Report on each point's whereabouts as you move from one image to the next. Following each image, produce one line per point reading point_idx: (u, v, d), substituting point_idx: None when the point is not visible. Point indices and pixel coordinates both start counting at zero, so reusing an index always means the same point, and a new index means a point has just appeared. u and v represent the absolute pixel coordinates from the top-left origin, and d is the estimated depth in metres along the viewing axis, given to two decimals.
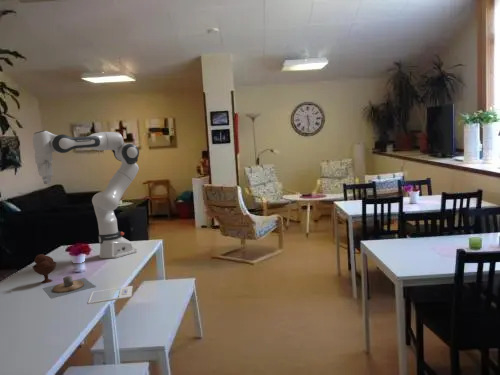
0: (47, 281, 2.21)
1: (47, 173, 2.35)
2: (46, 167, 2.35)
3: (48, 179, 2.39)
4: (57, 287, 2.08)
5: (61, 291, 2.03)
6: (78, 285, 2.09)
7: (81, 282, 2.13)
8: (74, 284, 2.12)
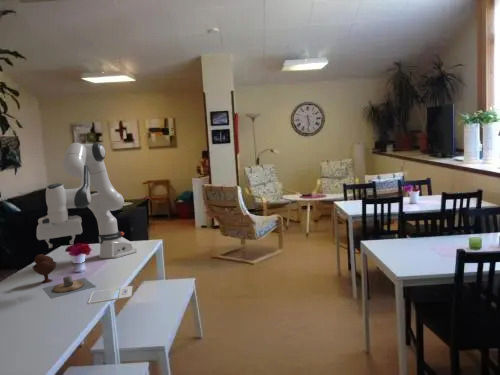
0: (47, 281, 2.21)
1: None
2: (80, 223, 2.13)
3: None
4: (57, 287, 2.08)
5: (61, 291, 2.03)
6: (78, 285, 2.09)
7: (81, 282, 2.13)
8: (74, 283, 2.12)
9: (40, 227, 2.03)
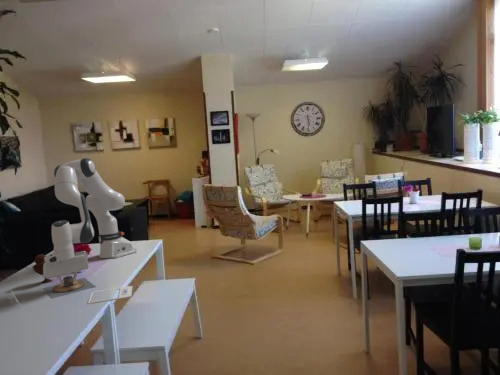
0: (47, 281, 2.21)
1: None
2: (86, 258, 2.13)
3: None
4: (57, 287, 2.08)
5: (61, 291, 2.03)
6: (78, 285, 2.09)
7: (81, 282, 2.13)
8: (74, 283, 2.12)
9: (47, 266, 2.02)
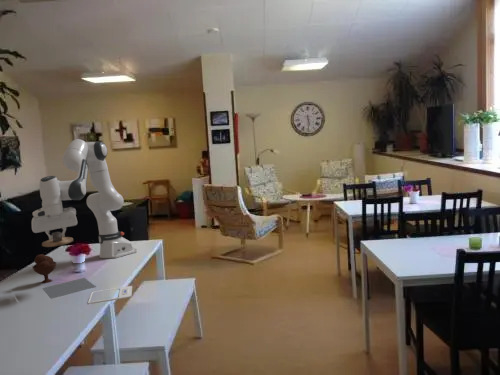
0: (47, 281, 2.21)
1: (76, 221, 2.15)
2: (75, 214, 2.15)
3: None
4: (46, 242, 2.09)
5: (50, 245, 2.05)
6: (67, 240, 2.10)
7: (70, 238, 2.14)
8: (62, 239, 2.13)
9: (36, 220, 2.03)
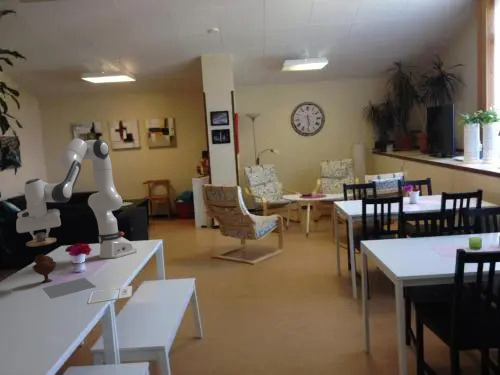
0: (47, 281, 2.21)
1: (60, 222, 2.24)
2: (58, 216, 2.24)
3: None
4: (30, 242, 2.18)
5: (33, 245, 2.14)
6: (50, 240, 2.19)
7: (54, 238, 2.23)
8: (46, 239, 2.22)
9: (20, 220, 2.12)
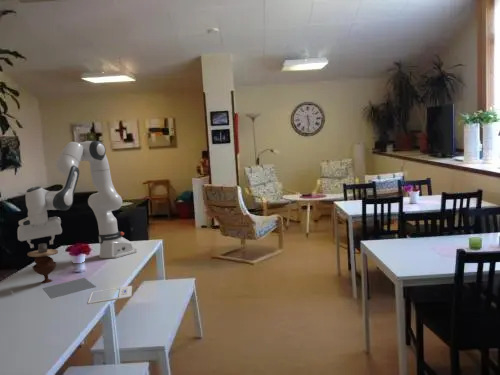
0: (47, 281, 2.21)
1: (61, 229, 2.25)
2: (59, 223, 2.24)
3: None
4: (31, 253, 2.19)
5: (35, 255, 2.14)
6: (52, 252, 2.20)
7: (55, 250, 2.24)
8: (48, 251, 2.23)
9: (21, 229, 2.13)
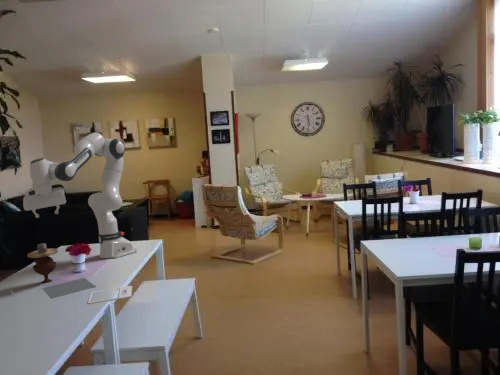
0: (47, 281, 2.21)
1: (65, 199, 2.33)
2: (63, 194, 2.32)
3: None
4: (31, 254, 2.18)
5: (35, 256, 2.14)
6: (51, 251, 2.20)
7: (55, 249, 2.24)
8: (47, 250, 2.23)
9: (27, 199, 2.21)
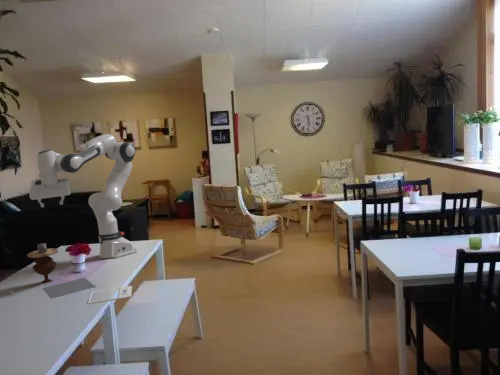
0: (47, 281, 2.21)
1: (70, 191, 2.40)
2: (68, 185, 2.39)
3: None
4: (31, 254, 2.18)
5: (35, 256, 2.14)
6: (51, 251, 2.20)
7: (55, 249, 2.24)
8: (47, 250, 2.23)
9: (33, 188, 2.28)
